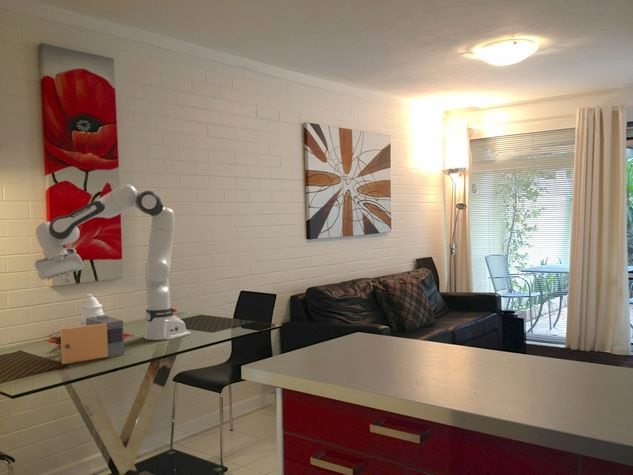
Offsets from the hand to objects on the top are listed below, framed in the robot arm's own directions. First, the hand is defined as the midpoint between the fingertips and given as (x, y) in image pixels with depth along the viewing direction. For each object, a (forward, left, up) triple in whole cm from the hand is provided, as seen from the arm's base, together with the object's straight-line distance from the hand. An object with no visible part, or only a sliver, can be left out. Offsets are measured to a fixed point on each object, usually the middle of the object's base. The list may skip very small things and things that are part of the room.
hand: (67, 282), depth 275 cm
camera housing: (-5, +24, -30) cm, 39 cm away
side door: (+8, +33, -29) cm, 45 cm away
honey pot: (-28, -36, -30) cm, 55 cm away
